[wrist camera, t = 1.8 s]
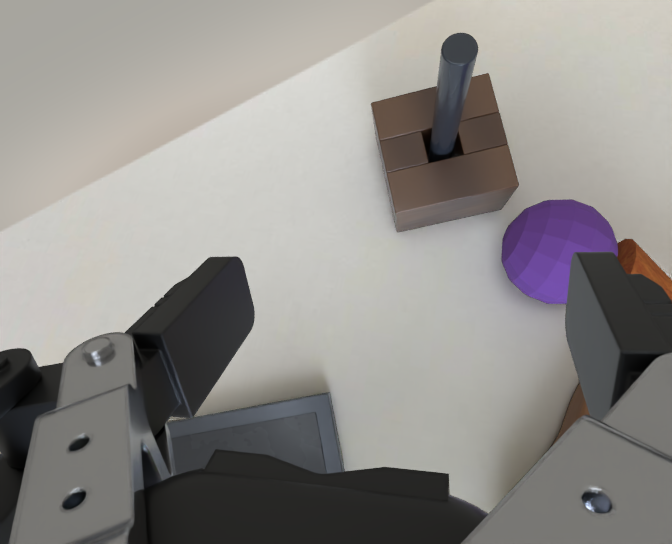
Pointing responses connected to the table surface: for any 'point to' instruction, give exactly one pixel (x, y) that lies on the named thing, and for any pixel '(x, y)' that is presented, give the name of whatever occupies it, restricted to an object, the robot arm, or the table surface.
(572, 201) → the kendama
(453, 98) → the stylus
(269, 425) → the tablet
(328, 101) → the table surface
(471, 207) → the pen stand
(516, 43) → the table surface
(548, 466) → the robot arm
